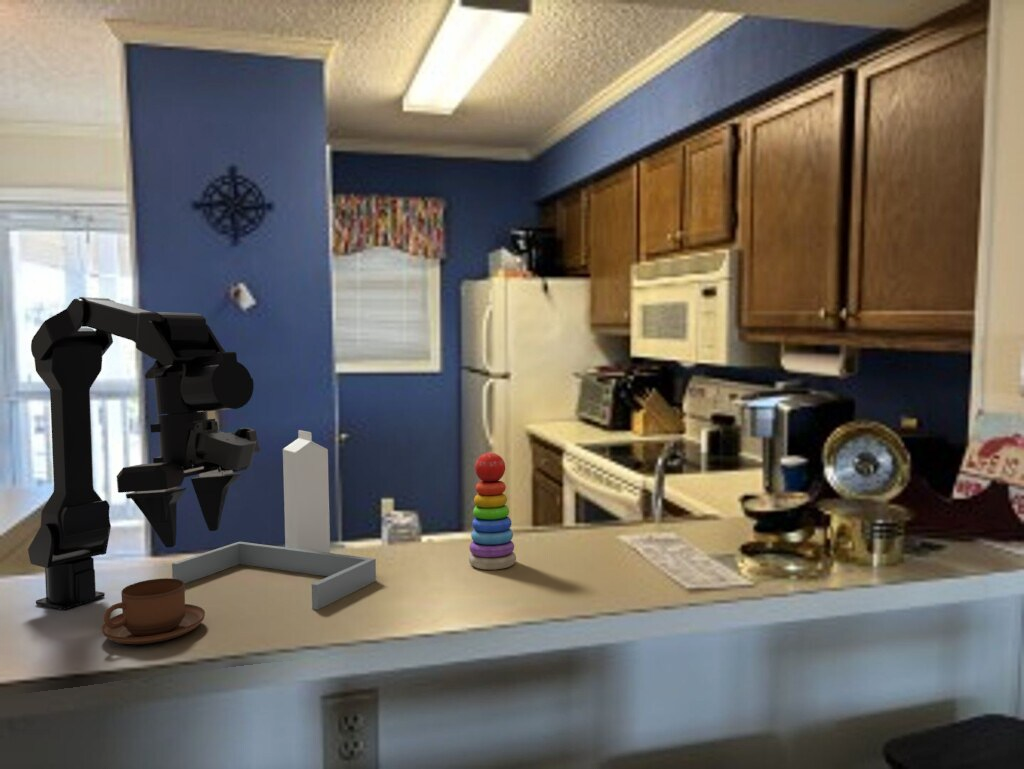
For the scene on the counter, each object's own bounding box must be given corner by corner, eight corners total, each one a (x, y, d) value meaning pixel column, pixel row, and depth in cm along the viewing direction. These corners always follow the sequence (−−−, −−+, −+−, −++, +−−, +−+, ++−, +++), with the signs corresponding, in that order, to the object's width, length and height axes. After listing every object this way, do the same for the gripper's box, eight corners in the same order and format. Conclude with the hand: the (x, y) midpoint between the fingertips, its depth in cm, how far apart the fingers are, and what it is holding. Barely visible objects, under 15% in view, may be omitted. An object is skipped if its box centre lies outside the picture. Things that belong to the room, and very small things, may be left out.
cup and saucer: (158, 657, 89) (156, 606, 89) (79, 647, 92) (77, 598, 92) (225, 622, 100) (223, 576, 100) (152, 613, 104) (150, 570, 104)
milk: (297, 561, 128) (293, 434, 127) (285, 554, 133) (281, 431, 132) (331, 555, 132) (327, 431, 131) (317, 548, 137) (314, 428, 136)
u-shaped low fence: (172, 585, 116) (172, 563, 116) (239, 561, 128) (239, 541, 128) (317, 609, 104) (317, 584, 104) (376, 580, 117) (375, 558, 117)
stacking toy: (525, 561, 126) (524, 451, 126) (499, 574, 120) (497, 457, 119) (486, 555, 131) (485, 448, 130) (459, 567, 124) (457, 454, 123)
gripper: (199, 412, 82) (210, 553, 82) (278, 405, 101) (288, 520, 101) (108, 419, 84) (119, 558, 84) (202, 411, 102) (212, 524, 103)
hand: (193, 538), depth 93 cm, fingers open, 9 cm apart
